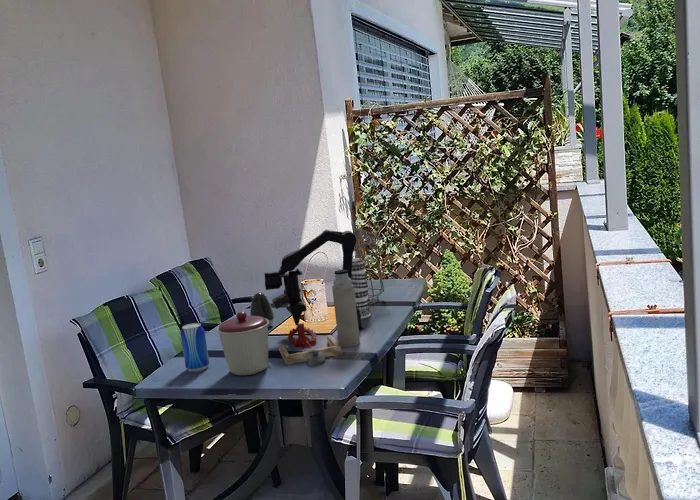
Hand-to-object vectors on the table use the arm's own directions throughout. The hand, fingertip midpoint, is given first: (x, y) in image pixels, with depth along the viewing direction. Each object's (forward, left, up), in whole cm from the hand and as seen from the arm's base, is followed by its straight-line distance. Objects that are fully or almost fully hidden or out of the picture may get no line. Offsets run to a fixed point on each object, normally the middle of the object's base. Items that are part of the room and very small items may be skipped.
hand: (296, 324), depth 260 cm
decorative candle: (-30, -13, -5) cm, 33 cm away
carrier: (0, +27, -5) cm, 27 cm away
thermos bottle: (-16, +21, -5) cm, 27 cm away
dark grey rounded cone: (+11, -23, -5) cm, 26 cm away
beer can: (+40, +17, -5) cm, 44 cm away
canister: (+23, +30, -5) cm, 38 cm away
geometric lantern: (-39, -33, -5) cm, 51 cm away
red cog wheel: (0, +12, -5) cm, 13 cm away
